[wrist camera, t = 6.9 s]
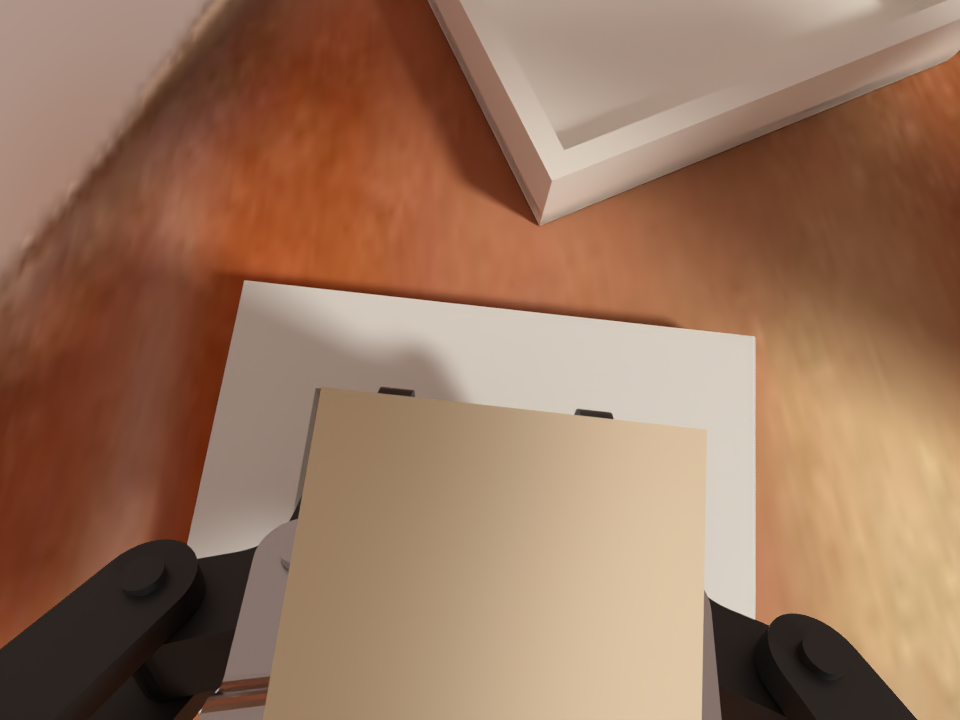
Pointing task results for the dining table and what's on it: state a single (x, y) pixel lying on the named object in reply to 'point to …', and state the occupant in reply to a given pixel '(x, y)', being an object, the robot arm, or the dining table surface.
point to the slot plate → (468, 399)
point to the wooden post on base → (492, 566)
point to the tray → (670, 78)
